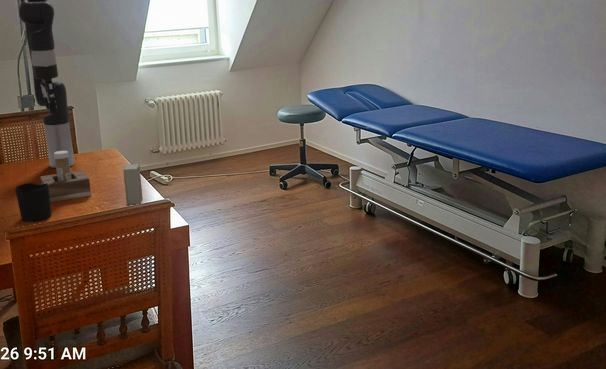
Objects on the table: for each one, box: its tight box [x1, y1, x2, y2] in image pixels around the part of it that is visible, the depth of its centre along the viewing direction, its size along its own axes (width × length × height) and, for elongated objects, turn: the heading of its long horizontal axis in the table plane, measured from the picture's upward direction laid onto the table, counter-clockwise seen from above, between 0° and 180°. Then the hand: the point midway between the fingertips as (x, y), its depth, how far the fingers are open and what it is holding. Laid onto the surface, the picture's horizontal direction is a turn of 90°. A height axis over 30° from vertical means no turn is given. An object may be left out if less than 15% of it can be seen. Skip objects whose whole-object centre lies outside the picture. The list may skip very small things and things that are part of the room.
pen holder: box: [14, 182, 52, 223], centre depth 194 cm, size 9×9×10 cm
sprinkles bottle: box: [54, 151, 72, 181], centre depth 215 cm, size 5×5×13 cm
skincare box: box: [122, 163, 143, 206], centre depth 206 cm, size 6×4×12 cm
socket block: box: [39, 170, 92, 203], centre depth 216 cm, size 12×14×6 cm
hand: (51, 110), depth 218 cm, fingers open, 8 cm apart
